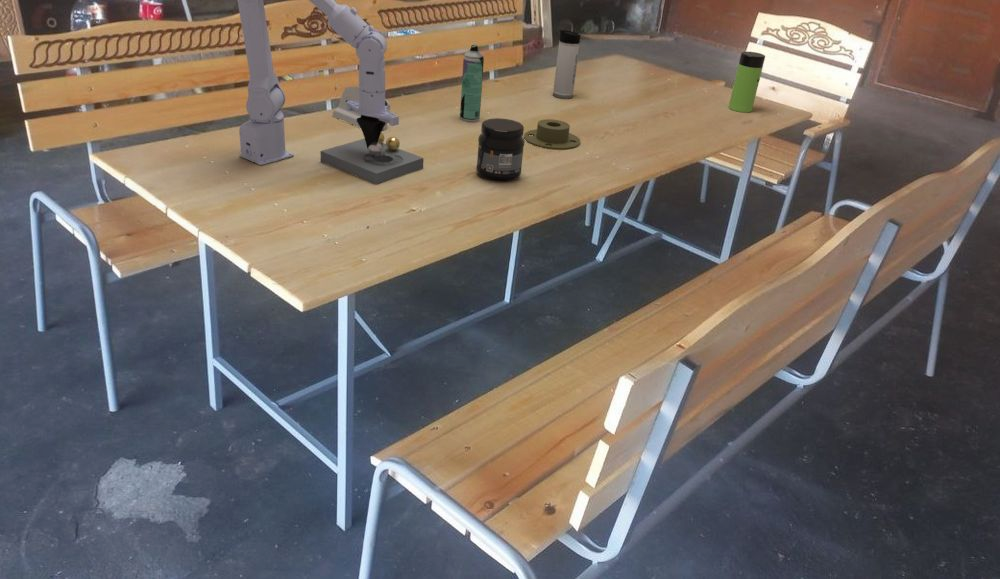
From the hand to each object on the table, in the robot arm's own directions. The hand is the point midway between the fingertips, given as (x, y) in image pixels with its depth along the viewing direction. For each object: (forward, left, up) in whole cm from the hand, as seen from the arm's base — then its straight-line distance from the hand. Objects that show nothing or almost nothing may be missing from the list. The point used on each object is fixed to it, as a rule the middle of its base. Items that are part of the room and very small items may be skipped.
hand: (372, 148), depth 178 cm
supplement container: (+18, -23, -4) cm, 30 cm away
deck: (0, 0, -4) cm, 4 cm away
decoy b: (+5, -1, 0) cm, 6 cm away
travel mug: (+87, +5, -4) cm, 87 cm away
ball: (0, -1, 0) cm, 1 cm away
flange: (+49, -17, -5) cm, 52 cm away
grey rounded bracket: (+20, +24, -4) cm, 31 cm away
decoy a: (+5, +4, 0) cm, 7 cm away
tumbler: (+124, -39, -4) cm, 130 cm away
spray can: (+45, +8, -4) cm, 46 cm away
